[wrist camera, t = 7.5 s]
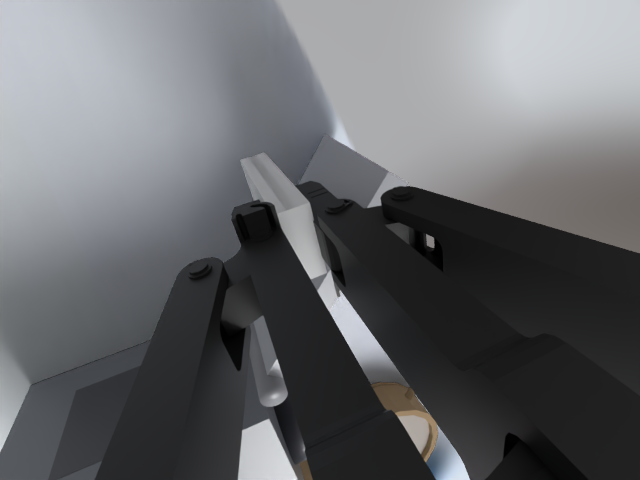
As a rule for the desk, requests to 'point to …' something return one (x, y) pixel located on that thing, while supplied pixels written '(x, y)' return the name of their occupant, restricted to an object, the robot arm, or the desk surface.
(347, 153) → the side door
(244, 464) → the camera body
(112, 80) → the desk surface
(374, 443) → the robot arm
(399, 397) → the alarm clock
